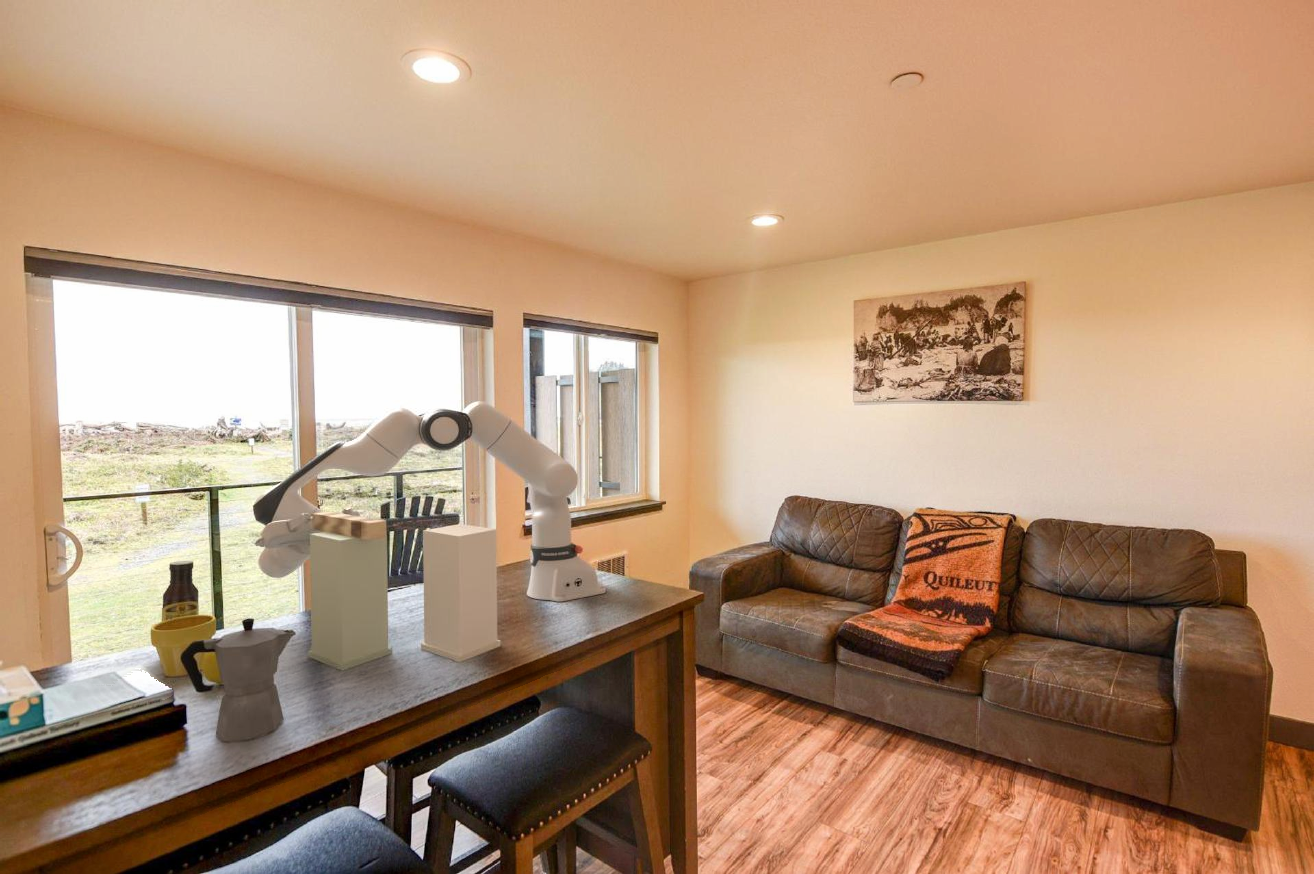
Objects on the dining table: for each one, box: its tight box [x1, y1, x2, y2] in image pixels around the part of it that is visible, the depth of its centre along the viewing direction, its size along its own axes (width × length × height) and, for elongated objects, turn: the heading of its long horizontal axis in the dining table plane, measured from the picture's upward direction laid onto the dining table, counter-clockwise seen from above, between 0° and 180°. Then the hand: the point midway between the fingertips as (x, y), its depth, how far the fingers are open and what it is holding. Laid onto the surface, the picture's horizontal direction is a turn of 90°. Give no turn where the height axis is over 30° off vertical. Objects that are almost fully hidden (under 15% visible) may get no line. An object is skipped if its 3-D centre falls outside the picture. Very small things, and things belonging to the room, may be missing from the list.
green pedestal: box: [307, 532, 393, 671], centre depth 132 cm, size 13×11×26 cm
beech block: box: [312, 511, 387, 540], centre depth 132 cm, size 22×4×4 cm, turn 56°
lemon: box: [202, 652, 224, 686], centre depth 118 cm, size 6×6×8 cm
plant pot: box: [150, 614, 217, 678], centre depth 124 cm, size 10×10×10 cm
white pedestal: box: [420, 523, 502, 663], centre depth 136 cm, size 13×11×26 cm
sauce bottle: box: [161, 560, 200, 622], centre depth 132 cm, size 6×6×20 cm
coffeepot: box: [180, 618, 297, 743], centre depth 100 cm, size 15×9×18 cm, turn 122°
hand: (329, 513), depth 136 cm, fingers open, 8 cm apart
